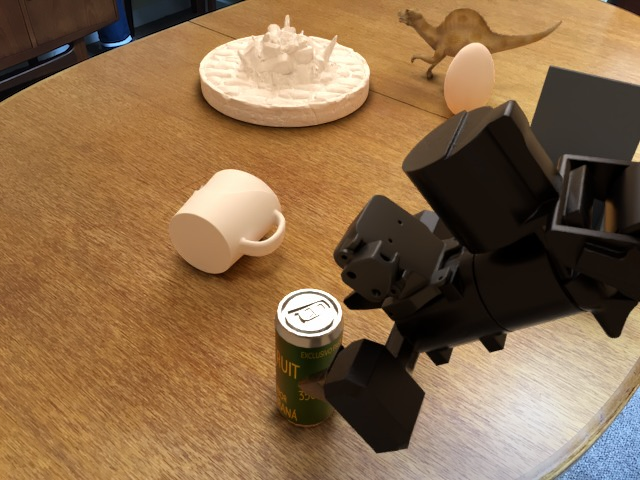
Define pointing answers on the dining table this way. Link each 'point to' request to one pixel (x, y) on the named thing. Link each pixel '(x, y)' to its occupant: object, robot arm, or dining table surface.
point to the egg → (469, 79)
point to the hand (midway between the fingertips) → (325, 343)
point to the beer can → (305, 351)
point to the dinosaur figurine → (463, 34)
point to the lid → (587, 116)
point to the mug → (227, 222)
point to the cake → (284, 79)
